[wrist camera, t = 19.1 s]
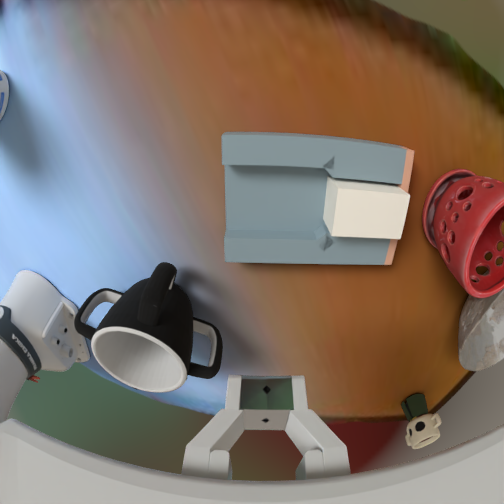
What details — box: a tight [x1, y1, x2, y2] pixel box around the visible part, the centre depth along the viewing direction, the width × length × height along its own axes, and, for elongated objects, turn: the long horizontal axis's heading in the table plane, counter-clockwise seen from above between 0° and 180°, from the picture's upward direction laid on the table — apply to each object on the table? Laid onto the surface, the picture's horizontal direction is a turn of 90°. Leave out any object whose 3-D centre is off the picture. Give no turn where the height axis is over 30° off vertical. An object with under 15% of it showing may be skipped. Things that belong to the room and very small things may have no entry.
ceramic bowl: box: [458, 264, 504, 371], centre depth 34 cm, size 22×23×10 cm
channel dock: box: [222, 132, 414, 265], centre depth 30 cm, size 14×20×3 cm
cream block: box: [323, 176, 410, 239], centre depth 29 cm, size 5×8×4 cm, turn 89°
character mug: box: [401, 394, 441, 449], centre depth 49 cm, size 11×7×13 cm, turn 159°
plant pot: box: [422, 169, 504, 298], centre depth 26 cm, size 13×13×12 cm
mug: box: [74, 262, 223, 392], centre depth 35 cm, size 16×16×12 cm
